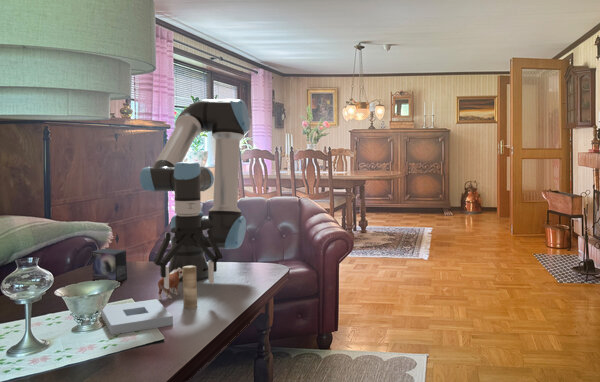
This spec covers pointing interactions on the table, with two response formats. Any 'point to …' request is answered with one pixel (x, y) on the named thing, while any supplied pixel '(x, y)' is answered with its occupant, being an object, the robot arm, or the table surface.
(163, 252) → the robot arm
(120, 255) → the small box
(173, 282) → the bull figurine
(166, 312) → the socket board
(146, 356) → the table surface
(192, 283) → the peg
